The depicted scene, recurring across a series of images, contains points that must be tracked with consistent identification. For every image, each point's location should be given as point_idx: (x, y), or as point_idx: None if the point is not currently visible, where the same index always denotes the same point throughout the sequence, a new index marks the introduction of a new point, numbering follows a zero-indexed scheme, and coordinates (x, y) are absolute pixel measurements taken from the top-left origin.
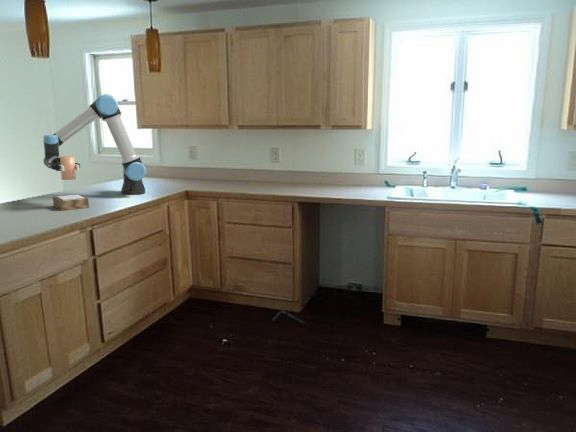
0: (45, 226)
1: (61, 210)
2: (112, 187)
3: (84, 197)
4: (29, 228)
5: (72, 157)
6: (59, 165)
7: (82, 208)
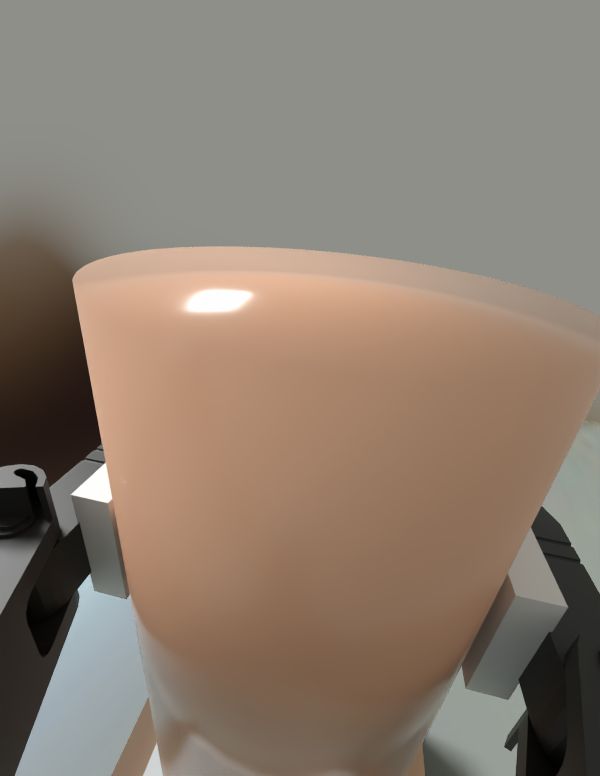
0: None
1: None
2: None
3: (143, 717)
4: (568, 479)
5: (281, 251)
6: (529, 547)
7: None
